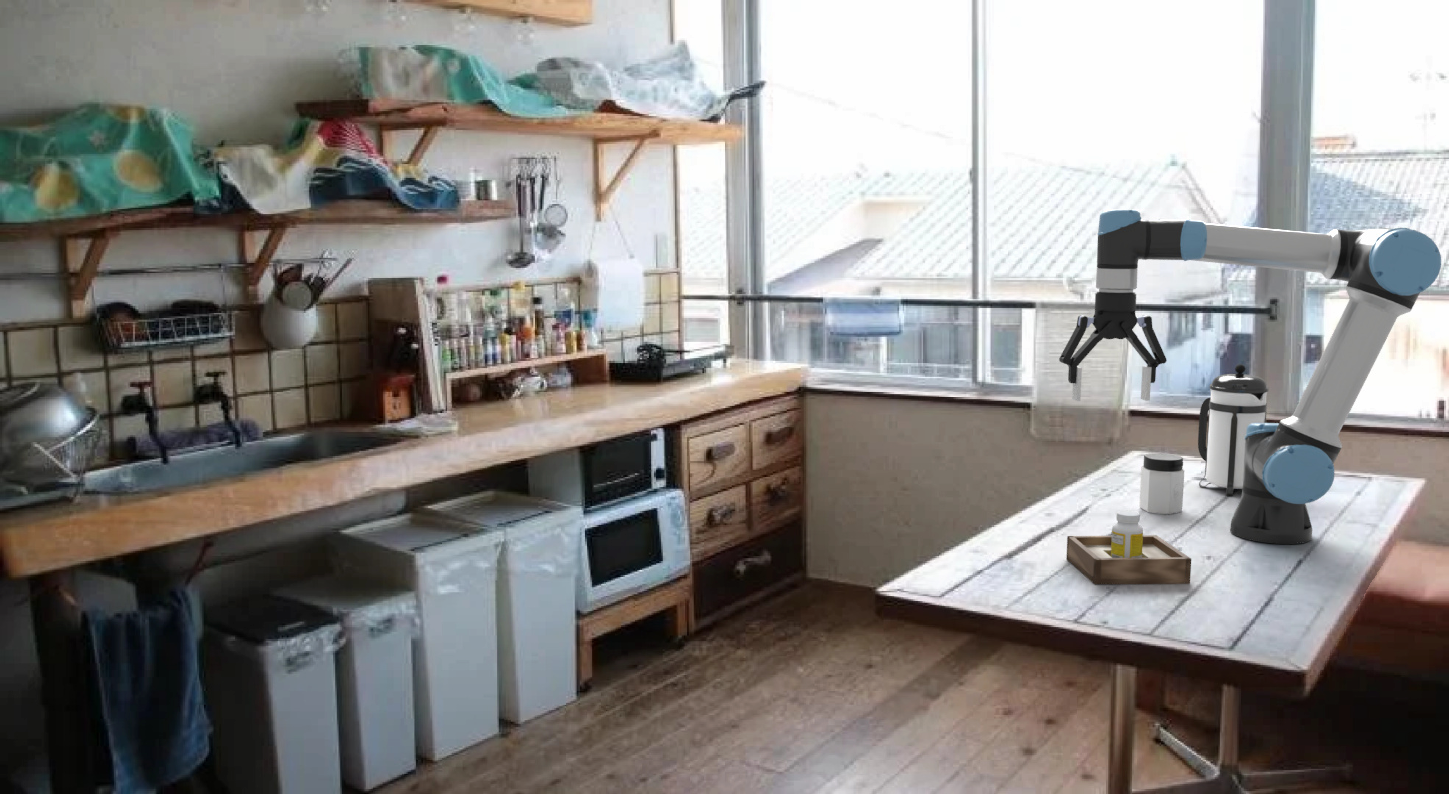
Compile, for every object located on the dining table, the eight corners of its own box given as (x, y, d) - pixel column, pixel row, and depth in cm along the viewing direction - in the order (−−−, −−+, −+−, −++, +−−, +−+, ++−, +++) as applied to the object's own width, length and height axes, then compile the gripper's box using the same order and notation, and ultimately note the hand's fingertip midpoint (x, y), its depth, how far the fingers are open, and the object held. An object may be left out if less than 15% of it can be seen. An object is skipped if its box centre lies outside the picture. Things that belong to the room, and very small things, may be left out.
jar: (1163, 516, 263) (1166, 461, 262) (1132, 508, 270) (1134, 455, 268) (1189, 510, 268) (1192, 457, 267) (1158, 503, 275) (1160, 451, 273)
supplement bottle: (1141, 563, 225) (1144, 511, 223) (1141, 570, 220) (1144, 517, 218) (1110, 560, 226) (1113, 508, 225) (1109, 568, 221) (1112, 515, 220)
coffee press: (1272, 487, 292) (1280, 362, 288) (1261, 500, 279) (1269, 369, 274) (1196, 478, 301) (1203, 357, 297) (1181, 490, 288) (1189, 364, 283)
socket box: (1155, 558, 231) (1156, 535, 231) (1189, 583, 215) (1191, 558, 215) (1066, 559, 231) (1067, 536, 230) (1094, 584, 215) (1095, 559, 214)
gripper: (1172, 289, 239) (1166, 396, 242) (1045, 289, 238) (1041, 397, 241) (1187, 291, 231) (1181, 402, 234) (1057, 291, 230) (1053, 403, 233)
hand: (1110, 400), depth 238 cm, fingers open, 13 cm apart
